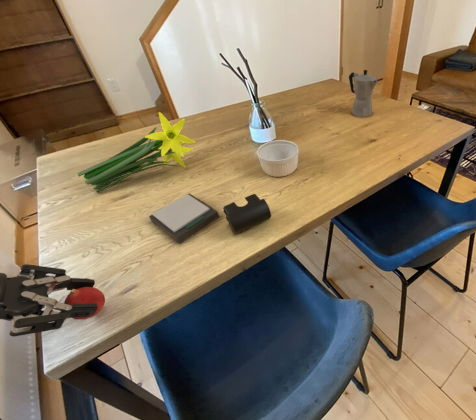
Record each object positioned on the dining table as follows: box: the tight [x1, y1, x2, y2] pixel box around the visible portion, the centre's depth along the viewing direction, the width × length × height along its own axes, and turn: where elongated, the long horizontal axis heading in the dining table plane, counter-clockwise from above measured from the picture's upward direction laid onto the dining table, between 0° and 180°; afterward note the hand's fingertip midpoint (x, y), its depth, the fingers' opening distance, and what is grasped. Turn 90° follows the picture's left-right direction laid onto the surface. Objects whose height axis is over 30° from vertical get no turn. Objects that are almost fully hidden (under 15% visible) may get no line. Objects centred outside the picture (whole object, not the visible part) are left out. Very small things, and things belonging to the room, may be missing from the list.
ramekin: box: [256, 139, 300, 178], centre depth 90 cm, size 13×13×7 cm
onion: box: [63, 286, 106, 320], centre depth 52 cm, size 6×6×8 cm
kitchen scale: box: [148, 193, 220, 245], centre depth 73 cm, size 12×13×3 cm
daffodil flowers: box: [77, 111, 196, 194], centre depth 85 cm, size 17×15×35 cm
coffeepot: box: [348, 69, 379, 118], centre depth 118 cm, size 15×9×18 cm, turn 43°
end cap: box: [222, 193, 272, 235], centre depth 70 cm, size 10×7×7 cm
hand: (94, 296), depth 53 cm, fingers closed on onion, 5 cm apart
